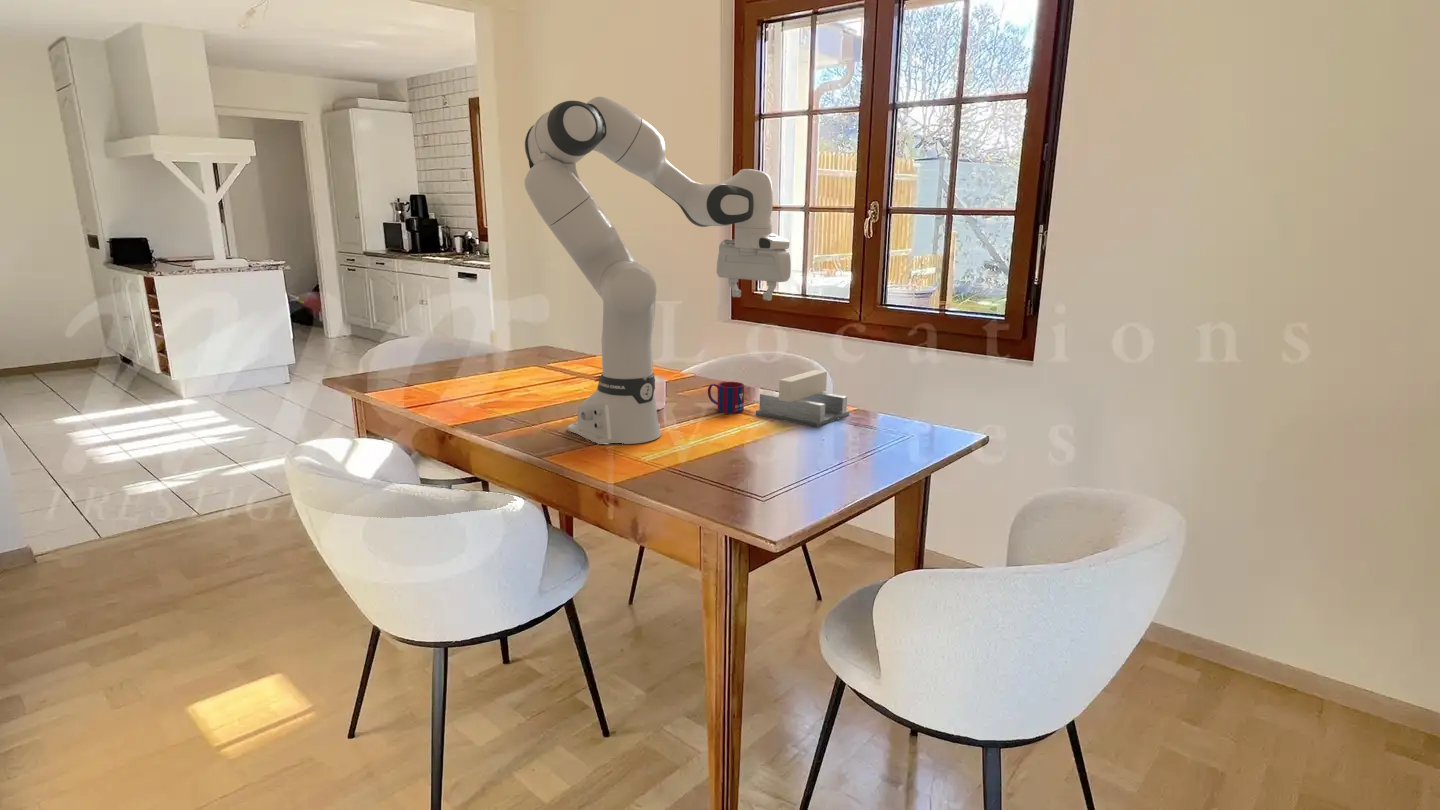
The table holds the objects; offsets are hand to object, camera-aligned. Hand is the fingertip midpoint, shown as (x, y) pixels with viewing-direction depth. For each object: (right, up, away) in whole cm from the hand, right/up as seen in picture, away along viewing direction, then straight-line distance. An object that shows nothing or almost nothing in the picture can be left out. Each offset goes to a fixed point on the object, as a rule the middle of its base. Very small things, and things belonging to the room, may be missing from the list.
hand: (751, 298), depth 189 cm
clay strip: (+13, -23, +5) cm, 27 cm away
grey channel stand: (+13, -28, +6) cm, 32 cm away
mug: (-6, -27, +11) cm, 30 cm away
